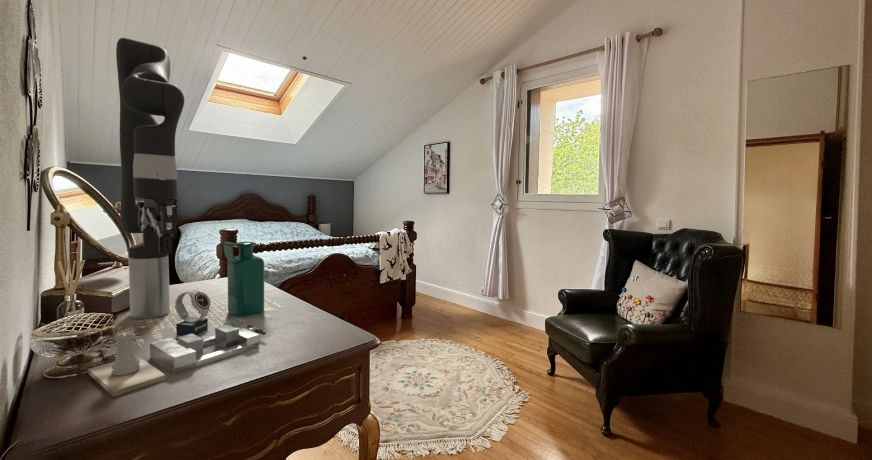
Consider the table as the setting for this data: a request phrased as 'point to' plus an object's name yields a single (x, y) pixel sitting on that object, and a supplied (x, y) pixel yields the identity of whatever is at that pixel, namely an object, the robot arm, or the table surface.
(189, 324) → the watch
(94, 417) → the table surface
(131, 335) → the rook chess piece
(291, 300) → the table surface
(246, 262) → the pitcher
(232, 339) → the vise
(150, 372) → the board
